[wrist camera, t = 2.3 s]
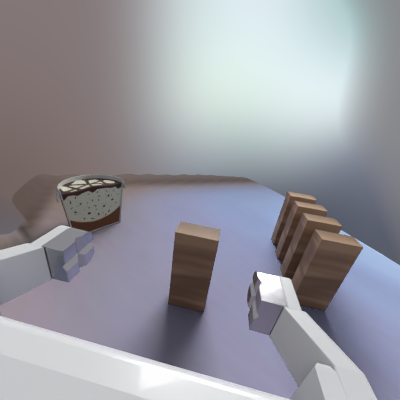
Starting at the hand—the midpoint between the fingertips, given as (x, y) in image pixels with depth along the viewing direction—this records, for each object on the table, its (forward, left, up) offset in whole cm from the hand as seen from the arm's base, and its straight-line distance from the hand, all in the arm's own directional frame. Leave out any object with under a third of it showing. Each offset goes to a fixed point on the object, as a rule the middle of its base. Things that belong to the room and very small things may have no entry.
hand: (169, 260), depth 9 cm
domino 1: (+10, -6, -18) cm, 22 cm away
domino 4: (+10, -27, -18) cm, 34 cm away
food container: (+33, +8, -18) cm, 39 cm away
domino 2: (+19, -32, -18) cm, 41 cm away
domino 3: (+14, -29, -18) cm, 37 cm away
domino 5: (+6, -24, -18) cm, 31 cm away
